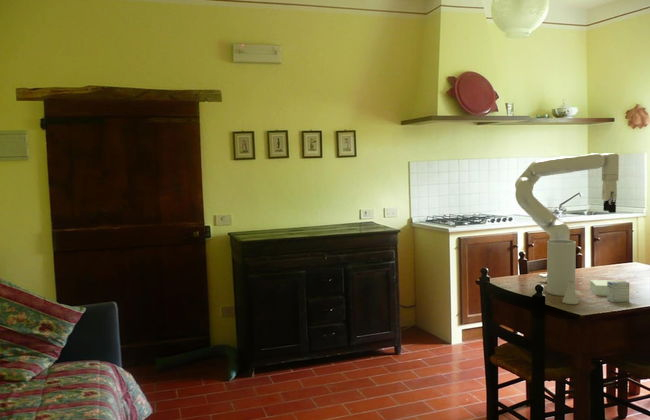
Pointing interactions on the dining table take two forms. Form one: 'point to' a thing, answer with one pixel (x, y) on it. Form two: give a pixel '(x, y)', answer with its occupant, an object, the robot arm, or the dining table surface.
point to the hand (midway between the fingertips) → (609, 211)
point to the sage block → (599, 286)
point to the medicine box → (617, 291)
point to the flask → (570, 294)
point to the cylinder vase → (560, 265)
